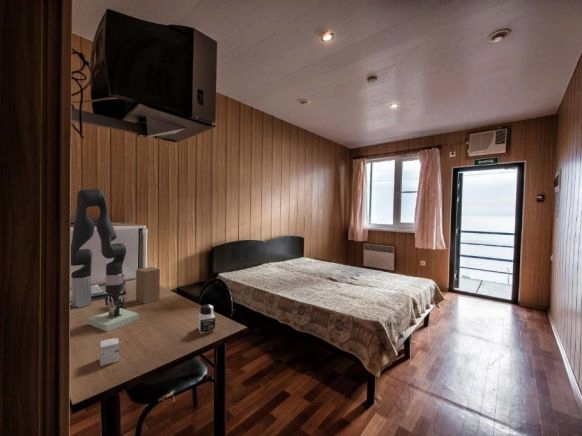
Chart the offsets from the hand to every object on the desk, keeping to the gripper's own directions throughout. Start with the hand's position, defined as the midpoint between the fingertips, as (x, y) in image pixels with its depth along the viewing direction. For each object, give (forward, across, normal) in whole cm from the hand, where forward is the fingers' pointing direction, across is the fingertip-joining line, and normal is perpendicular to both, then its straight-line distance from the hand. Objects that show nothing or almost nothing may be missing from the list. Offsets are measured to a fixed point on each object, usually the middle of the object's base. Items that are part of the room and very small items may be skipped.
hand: (114, 314), depth 138 cm
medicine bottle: (+4, +47, +17) cm, 50 cm away
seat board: (+4, 0, 0) cm, 4 cm away
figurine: (+4, -41, +26) cm, 49 cm away
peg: (+3, 0, 0) cm, 3 cm away
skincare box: (+4, +33, -21) cm, 39 cm away
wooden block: (+4, -14, +29) cm, 32 cm away
